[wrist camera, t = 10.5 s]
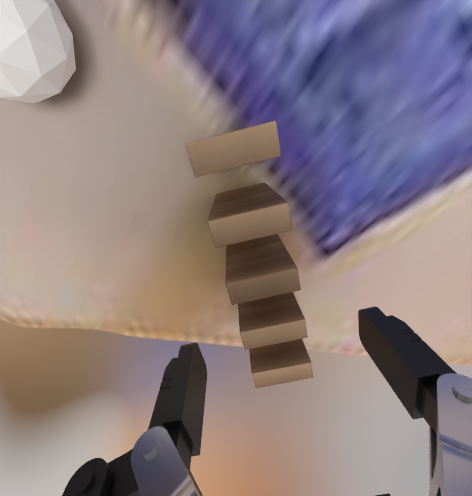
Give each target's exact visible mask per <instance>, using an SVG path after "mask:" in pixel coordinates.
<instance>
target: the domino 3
mask: <svg viewBox="0 0 472 496" xmlns="http://www.w3.org/2000/svg"><path fill="white" fill-rule="evenodd" d="M226 287H227V290H228V294H229V297H230V300H231V304H232V305H234V304H239V303H243V302H248V301H252V300H257V299H262V298H266V297H271V296H275V295H280V294H285V293H289V292H294V291H298V290H301V289H300V283H299V276H298V270H297V267H296V265H295V263H294V262H293V260H292V258H291V257H290V255H289V253H288V252H287V250H286V248H285V246H284V245H283V243H282V241H281V240H280V238H279V236H278V235H277V234H274V235H269V236H265V237H261V238H256V239H252V240H247V241H243V242H238V243H234V244H230V245H227V250H226Z"/></svg>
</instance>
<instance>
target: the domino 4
mask: <svg viewBox="0 0 472 496" xmlns="http://www.w3.org/2000/svg"><path fill="white" fill-rule="evenodd" d="M238 309H239V326H240V335H241V338H242V342H243V345H244V348H245V350H247V349H252V348H257V347H262V346H267V345H272V344H277V343H282V342H287V341H292V340H298V339H303V338H308V337H307V330H306V323H305V318H304V316H303V314H302V312H301V310H300V307H299V305H298V303H297V301H296V299H295V296H294V294H293V292H289V293H285V294H280V295H275V296H271V297H266V298H262V299H257V300H252V301H248V302H243V303H239V304H238Z"/></svg>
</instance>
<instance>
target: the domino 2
mask: <svg viewBox="0 0 472 496" xmlns="http://www.w3.org/2000/svg"><path fill="white" fill-rule="evenodd" d="M208 224H209V227H210V231H211V234H212V238H213V241H214V245H215V248H216V247H221V246H225V245H230V244H234V243H238V242H243V241H247V240H252V239H256V238H261V237H265V236H269V235H274V234H278V233H283V232H287V231H292V227H291V221H290V214H289V207H288V202H286V201H285V200H284V199H283V198H282V197H281V196H279V195H278V194H277V193H276V192H275V191H274V190H272V189H271V188H270V187H269V186H268V185H267V184H265V183H261V184H257V185H253V186H249V187H245V188H241V189H236V190H232V191H228V192H224V193H220V194H216V197H215V200H214V203H213V206H212V210H211V213H210V216H209V219H208Z"/></svg>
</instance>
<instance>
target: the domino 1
mask: <svg viewBox="0 0 472 496" xmlns="http://www.w3.org/2000/svg"><path fill="white" fill-rule="evenodd" d="M186 148H187V151H188V154H189V158H190V161H191V165H192V168H193V172H194V175H195V177H198V176H202V175H206V174H210V173H214V172H218V171H222V170H227V169H231V168H235V167H239V166H243V165H247V164H251V163H255V162H259V161H263V160H267V159H271V158H275V157H279V156H281V152H280V145H279V139H278V132H277V125H276V121H272V122H268V123H264V124H261V125H257V126H253V127H249V128H245V129H241V130H237V131H233V132H229V133H225V134H222V135H218V136H214V137H210V138H206V139H202V140H198V141H194V142H190V143H186Z"/></svg>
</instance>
